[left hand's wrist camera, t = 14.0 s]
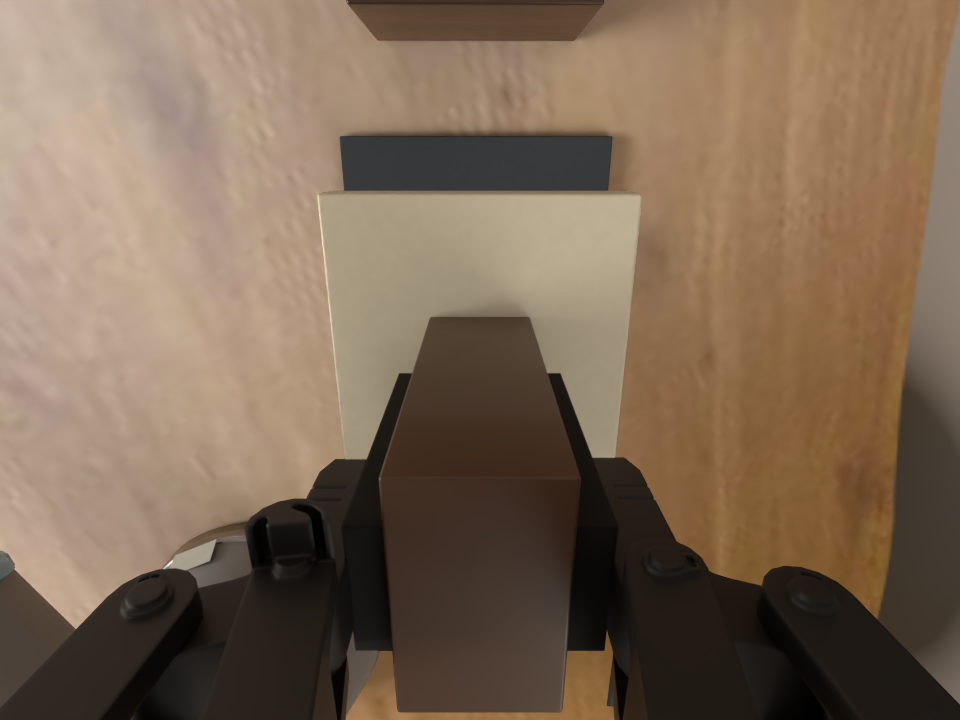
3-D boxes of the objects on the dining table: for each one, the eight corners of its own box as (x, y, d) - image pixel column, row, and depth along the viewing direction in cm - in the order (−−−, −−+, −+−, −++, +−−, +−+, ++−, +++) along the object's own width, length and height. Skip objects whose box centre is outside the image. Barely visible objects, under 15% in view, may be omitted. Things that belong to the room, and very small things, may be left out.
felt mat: (586, 430, 31) (588, 433, 31) (366, 430, 31) (365, 434, 31) (610, 136, 25) (612, 136, 25) (341, 136, 25) (339, 136, 25)
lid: (597, 519, 20) (700, 833, 11) (362, 520, 20) (259, 833, 11) (629, 190, 16) (845, 234, 6) (330, 190, 16) (114, 234, 6)
